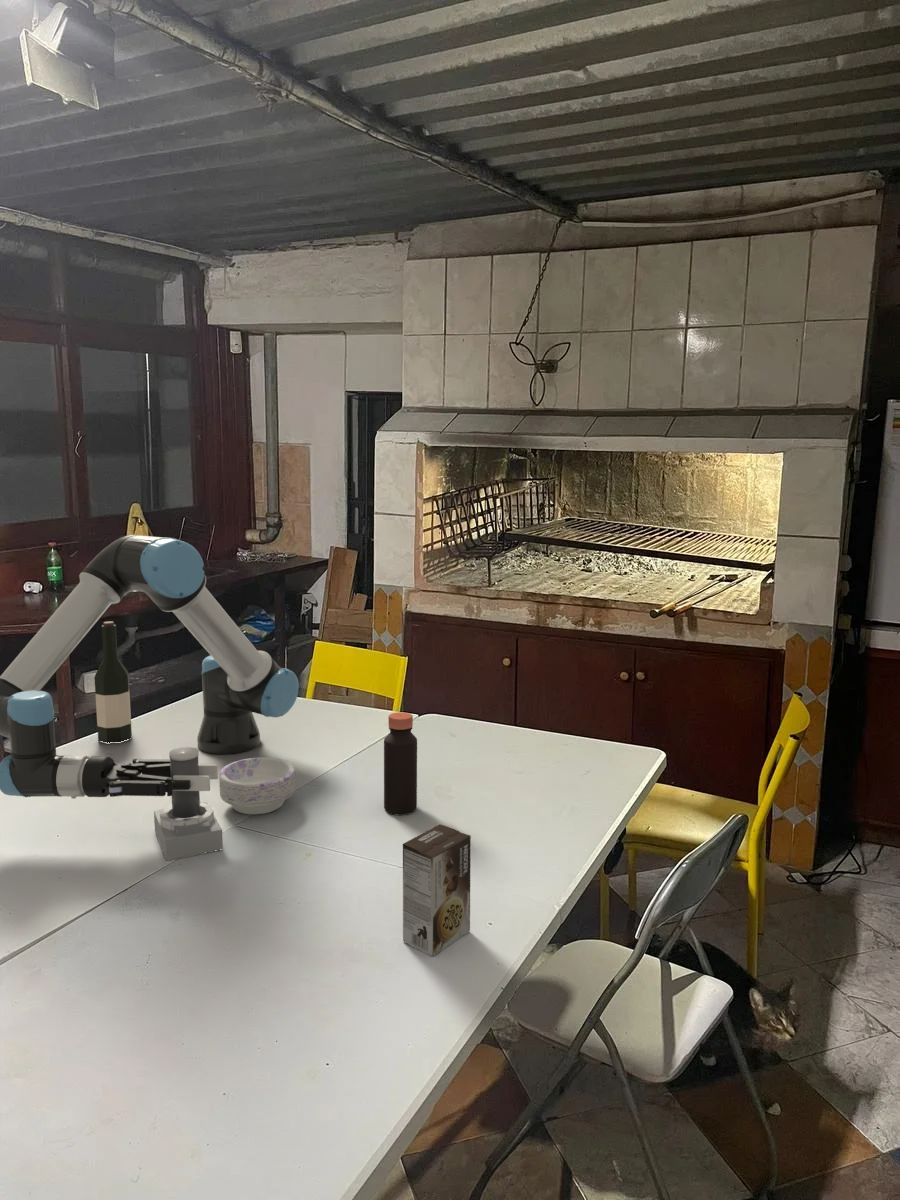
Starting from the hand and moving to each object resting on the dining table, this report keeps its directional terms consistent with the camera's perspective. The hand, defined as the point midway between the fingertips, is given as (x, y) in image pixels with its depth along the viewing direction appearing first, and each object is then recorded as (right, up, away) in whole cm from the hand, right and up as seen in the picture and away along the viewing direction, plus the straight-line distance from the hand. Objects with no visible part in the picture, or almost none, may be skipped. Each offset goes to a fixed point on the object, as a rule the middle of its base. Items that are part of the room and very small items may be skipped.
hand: (213, 777), depth 163 cm
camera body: (-5, -12, +2) cm, 14 cm away
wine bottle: (-40, -2, +58) cm, 70 cm away
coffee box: (+42, -19, -29) cm, 55 cm away
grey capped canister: (-5, -7, +1) cm, 9 cm away
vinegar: (+34, -10, +17) cm, 39 cm away
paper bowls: (+4, -10, +18) cm, 21 cm away
